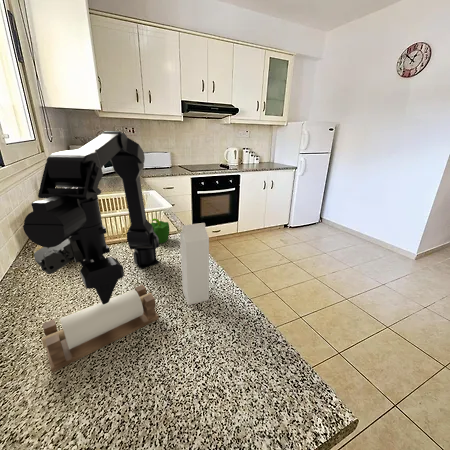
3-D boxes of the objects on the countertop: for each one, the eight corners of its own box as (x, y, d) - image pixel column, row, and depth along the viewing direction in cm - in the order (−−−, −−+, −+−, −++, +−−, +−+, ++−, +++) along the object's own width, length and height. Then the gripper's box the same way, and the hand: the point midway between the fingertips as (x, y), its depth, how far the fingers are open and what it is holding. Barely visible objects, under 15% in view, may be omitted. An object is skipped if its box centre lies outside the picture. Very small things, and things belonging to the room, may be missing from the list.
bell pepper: (174, 239, 102) (173, 217, 98) (162, 247, 95) (160, 223, 91) (158, 235, 105) (157, 214, 101) (146, 242, 98) (143, 220, 94)
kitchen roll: (144, 292, 63) (147, 279, 59) (155, 313, 60) (159, 300, 56) (42, 334, 49) (36, 321, 45) (49, 364, 46) (44, 352, 42)
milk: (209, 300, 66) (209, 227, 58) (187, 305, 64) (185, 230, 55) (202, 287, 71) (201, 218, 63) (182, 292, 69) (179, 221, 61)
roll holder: (146, 304, 64) (144, 283, 61) (158, 318, 59) (156, 297, 56) (47, 348, 50) (39, 324, 48) (52, 372, 45) (43, 347, 43)
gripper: (26, 218, 46) (46, 285, 52) (36, 254, 33) (62, 339, 39) (90, 208, 53) (101, 268, 59) (119, 235, 40) (130, 309, 46)
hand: (98, 291), depth 50 cm, fingers open, 9 cm apart
